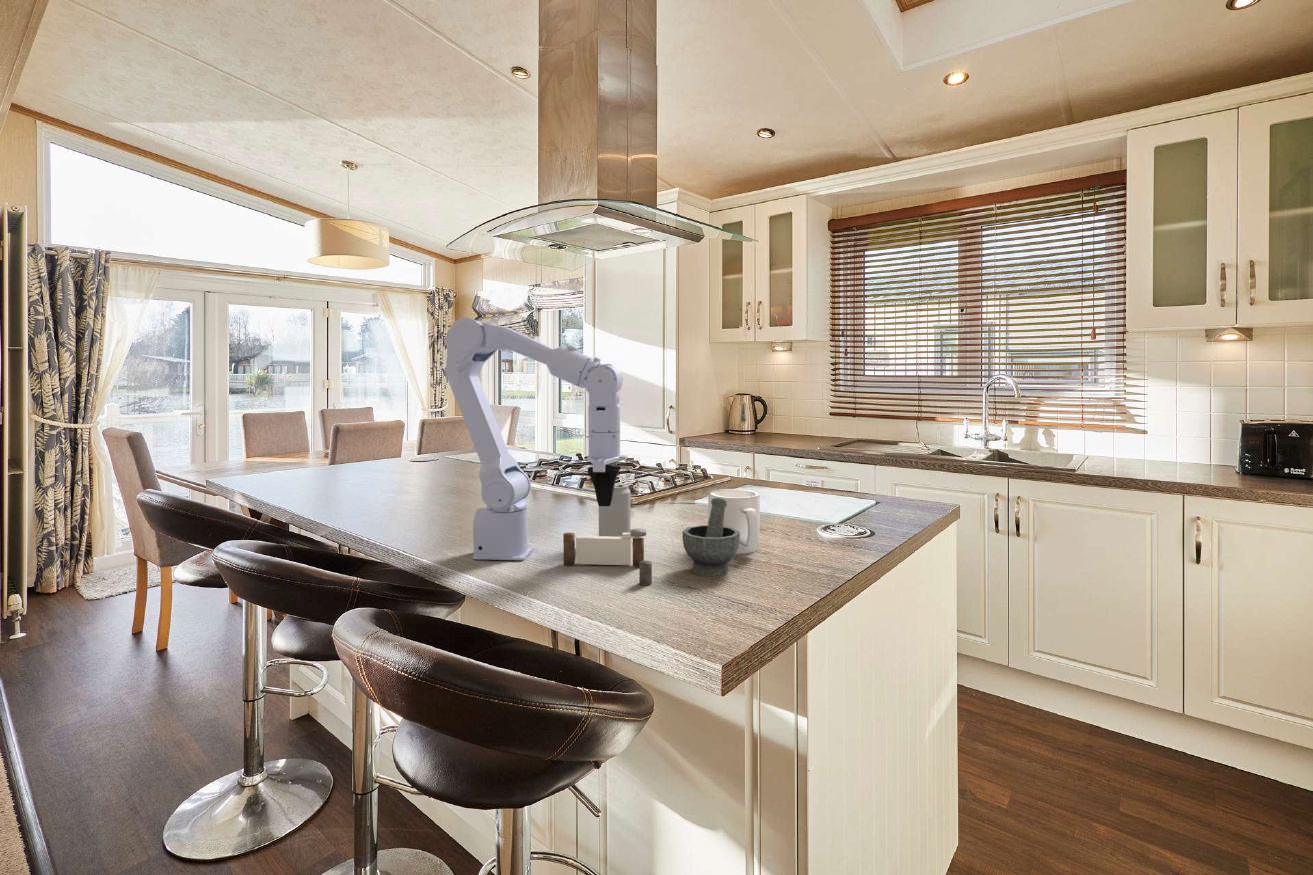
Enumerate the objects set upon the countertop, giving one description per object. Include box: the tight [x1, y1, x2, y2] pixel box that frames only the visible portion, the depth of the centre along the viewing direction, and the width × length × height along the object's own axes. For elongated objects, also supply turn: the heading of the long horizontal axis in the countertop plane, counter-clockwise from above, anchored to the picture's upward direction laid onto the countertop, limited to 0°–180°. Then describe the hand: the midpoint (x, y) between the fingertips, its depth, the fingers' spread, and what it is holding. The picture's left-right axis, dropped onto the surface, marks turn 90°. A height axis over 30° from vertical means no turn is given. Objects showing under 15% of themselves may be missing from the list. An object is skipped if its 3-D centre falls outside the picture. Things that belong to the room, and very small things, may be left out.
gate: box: [575, 528, 647, 566], centre depth 113 cm, size 12×3×6 cm, turn 87°
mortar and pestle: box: [682, 498, 740, 577], centre depth 111 cm, size 11×9×12 cm
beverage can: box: [598, 482, 632, 537], centre depth 127 cm, size 6×6×12 cm
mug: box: [707, 488, 761, 555], centre depth 124 cm, size 14×10×11 cm
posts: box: [562, 532, 653, 586], centre depth 108 cm, size 16×12×6 cm
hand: (604, 505), depth 116 cm, fingers closed
